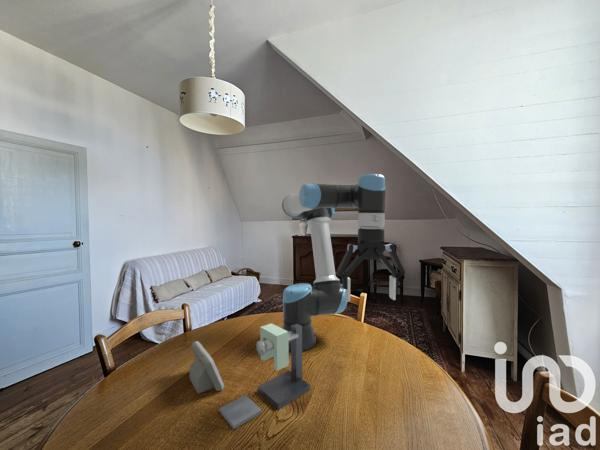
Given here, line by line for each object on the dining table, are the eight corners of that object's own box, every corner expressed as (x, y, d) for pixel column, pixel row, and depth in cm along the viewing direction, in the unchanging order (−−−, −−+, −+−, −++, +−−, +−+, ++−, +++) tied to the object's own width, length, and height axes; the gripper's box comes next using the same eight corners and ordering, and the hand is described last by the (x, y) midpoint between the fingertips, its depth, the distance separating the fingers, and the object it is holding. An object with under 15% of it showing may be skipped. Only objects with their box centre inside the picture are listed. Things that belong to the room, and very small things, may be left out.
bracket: (260, 359, 77) (260, 327, 77) (271, 354, 80) (271, 323, 80) (277, 370, 71) (276, 336, 71) (288, 365, 74) (288, 331, 74)
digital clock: (225, 392, 77) (224, 357, 77) (192, 402, 74) (191, 364, 73) (216, 365, 92) (216, 335, 92) (188, 371, 88) (188, 340, 88)
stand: (250, 394, 76) (250, 333, 76) (289, 374, 86) (289, 320, 86) (271, 413, 69) (270, 345, 68) (310, 389, 79) (310, 329, 78)
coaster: (219, 411, 70) (219, 408, 70) (245, 397, 75) (245, 394, 75) (233, 429, 64) (233, 426, 64) (261, 413, 69) (261, 410, 69)
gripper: (331, 228, 73) (331, 304, 74) (418, 228, 75) (417, 302, 76) (326, 227, 80) (326, 296, 81) (405, 226, 82) (404, 294, 83)
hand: (370, 299), depth 78 cm, fingers open, 13 cm apart
